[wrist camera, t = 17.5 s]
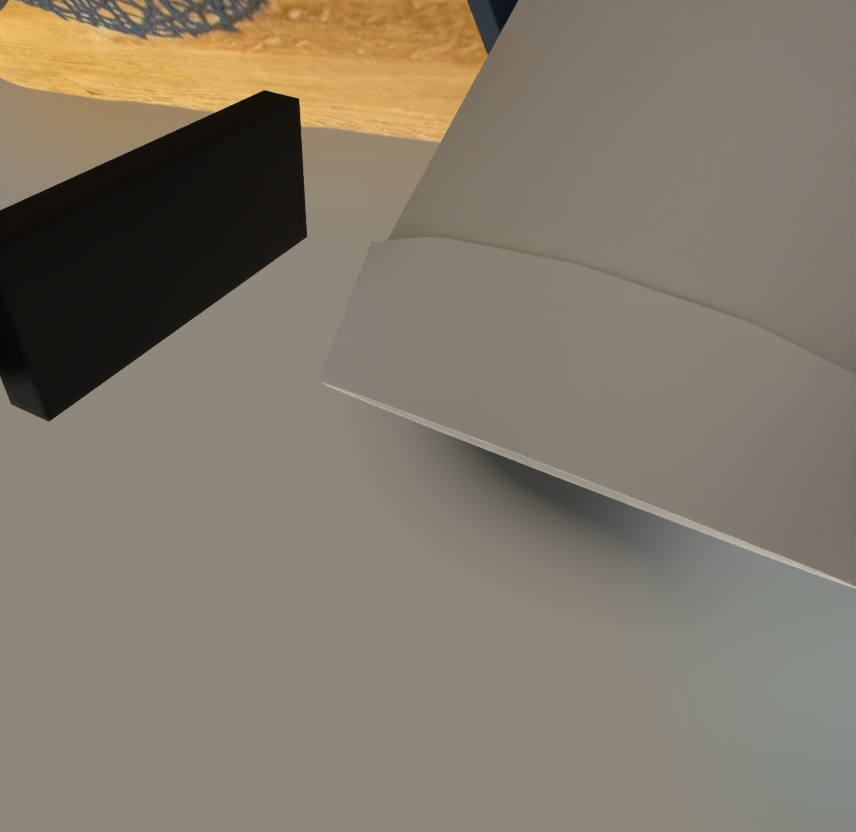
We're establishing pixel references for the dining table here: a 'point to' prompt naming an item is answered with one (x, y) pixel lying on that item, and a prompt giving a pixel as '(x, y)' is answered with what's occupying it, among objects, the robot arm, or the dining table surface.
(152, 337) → the robot arm
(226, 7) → the dining table surface
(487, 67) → the foam cup
